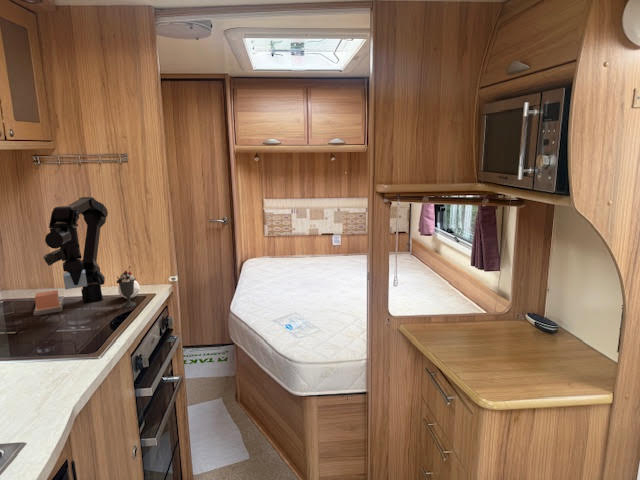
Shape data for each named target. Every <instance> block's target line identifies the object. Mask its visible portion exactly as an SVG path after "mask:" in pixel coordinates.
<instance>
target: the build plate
mask: <svg viewBox="0 0 640 480" xmlns="http://www.w3.org/2000/svg"><path fill="white" fill-rule="evenodd" d="M63 299H65V296H64V295H61V296H60V295H59V301H60V304H59V306H58V307H51V308H45V309H39V310H37V307H36V305H35V307H34V309H33V316H34V317H35V316H41V315H46V314H54V313H59V312H63V308H64V302H63Z"/></svg>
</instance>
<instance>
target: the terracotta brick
mask: <svg viewBox="0 0 640 480" xmlns="http://www.w3.org/2000/svg"><path fill="white" fill-rule="evenodd" d="M59 297H60V295H59V290H58V289H55V290H48V291H41V292H35V295H34V300H35V306H36V307H37V310H39V309H45V308H51V307H58V306H59V304H60V301H59Z"/></svg>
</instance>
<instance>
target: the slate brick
mask: <svg viewBox="0 0 640 480" xmlns="http://www.w3.org/2000/svg"><path fill="white" fill-rule="evenodd" d="M62 274H63V276H62V277H63V284H64V290H71V289H77V288H81V287H82V288H83V287H84V286H87V280H86V273H85V270H82V273H81V276H80V279H79V283H78V285H74V283H73V280H72V278H71V276H70V273H68V272H65V271H64V272H62Z"/></svg>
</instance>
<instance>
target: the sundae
mask: <svg viewBox="0 0 640 480" xmlns="http://www.w3.org/2000/svg"><path fill="white" fill-rule="evenodd" d="M130 269H131V266H130V265H129V266H128V268H127V270H125V271H124V272H123V273H121V275H120V277H119V276H116V278H117V280H116V284H118V286H119V285H120V289H121V292H122V294H123V295H124V296H125V297H127V298H126V303H124V304H122V305H121V306H122V308H127V309H129V308H133V307H135V306H136V305H137V303H136V302H132V301H131V298H130V296H131V295H132V294H133V292H134V281H137V280H136V278H135V277H134V275H133V274H132V272H131V271H130Z"/></svg>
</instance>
